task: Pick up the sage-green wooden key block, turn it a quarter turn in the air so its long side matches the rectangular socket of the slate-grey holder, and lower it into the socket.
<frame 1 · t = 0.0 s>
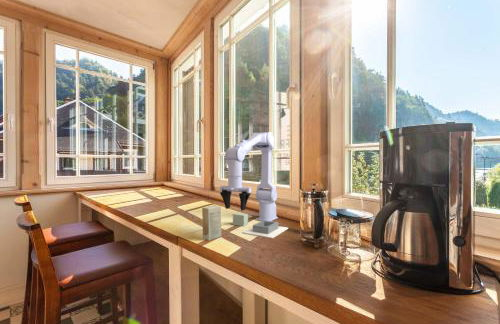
hand: (235, 209, 104), 10 cm above the table, tool pointing down, fingers open, 7 cm apart
skincare box: (211, 238, 99), on the table
slot holder: (265, 230, 108), on the table
key block: (240, 224, 118), on the table
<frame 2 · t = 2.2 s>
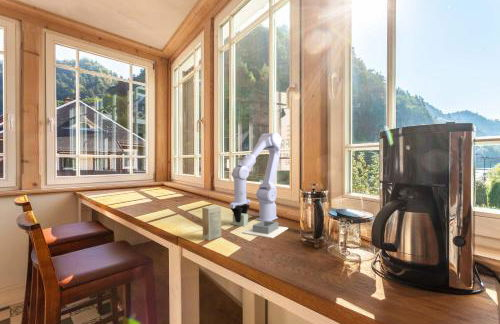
hand: (240, 221, 118), 2 cm above the table, tool pointing down, fingers closed on key block, 4 cm apart
key block: (240, 224, 118), on the table, touching gripper
everything else where it was.
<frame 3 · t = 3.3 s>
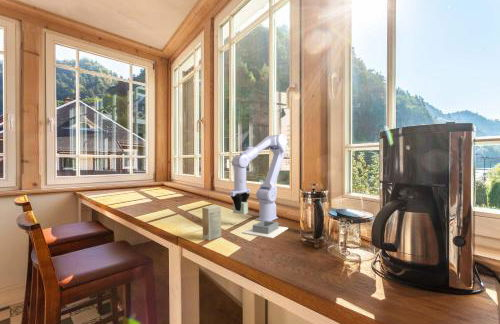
hand: (240, 209, 118), 7 cm above the table, tool pointing down, fingers closed on key block, 4 cm apart
key block: (240, 213, 118), point 5 cm above the table, touching gripper
everything else where it was.
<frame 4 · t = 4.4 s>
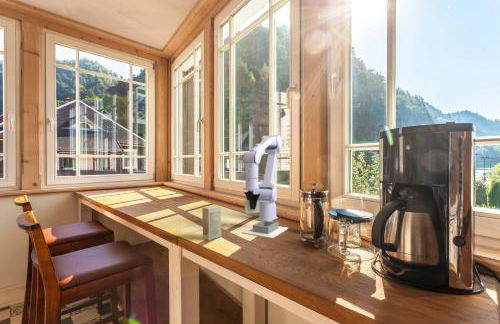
hand: (251, 208, 113), 9 cm above the table, tool pointing down, fingers closed on key block, 4 cm apart
key block: (251, 211, 113), point 7 cm above the table, touching gripper
everything else where it was.
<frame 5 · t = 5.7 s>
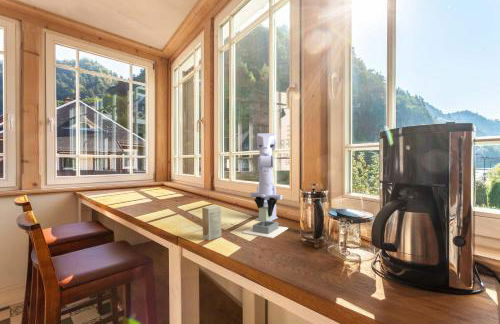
hand: (265, 215, 108), 7 cm above the table, tool pointing down, fingers closed on key block, 4 cm apart
key block: (265, 219, 108), point 5 cm above the table, touching gripper
everything else where it was.
when the fingers open (4 cm above the table, at t = 6.7 s): key block drops 2 cm, resting on slot holder.
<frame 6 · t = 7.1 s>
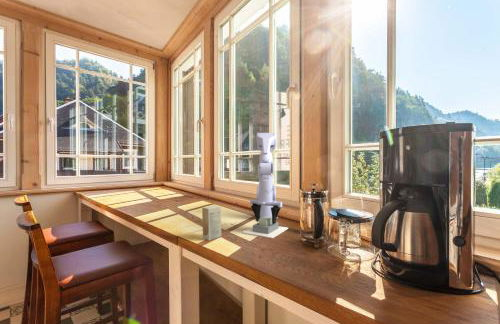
hand: (265, 222, 108), 4 cm above the table, tool pointing down, fingers open, 7 cm apart
key block: (265, 229, 108), resting on slot holder
everything else where it was.
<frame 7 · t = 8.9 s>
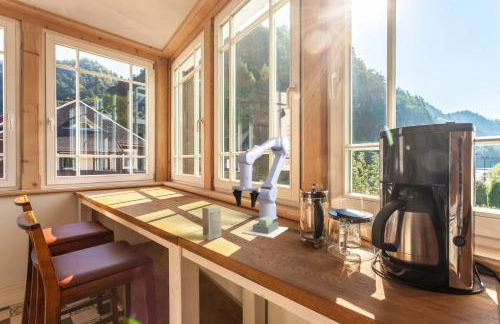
hand: (245, 206, 118), 8 cm above the table, tool pointing down, fingers open, 7 cm apart
nothing on the table moved.
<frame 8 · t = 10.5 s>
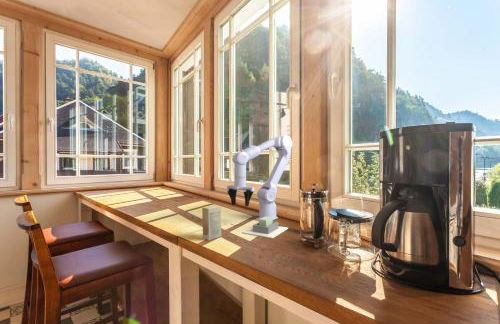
hand: (240, 205, 122), 8 cm above the table, tool pointing down, fingers open, 7 cm apart
nothing on the table moved.
at the end: key block 0.1 cm off-centre on the slot holder, point 0.4 cm above the slot holder's base; key block tilted 0°; the gripper is holding nothing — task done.
